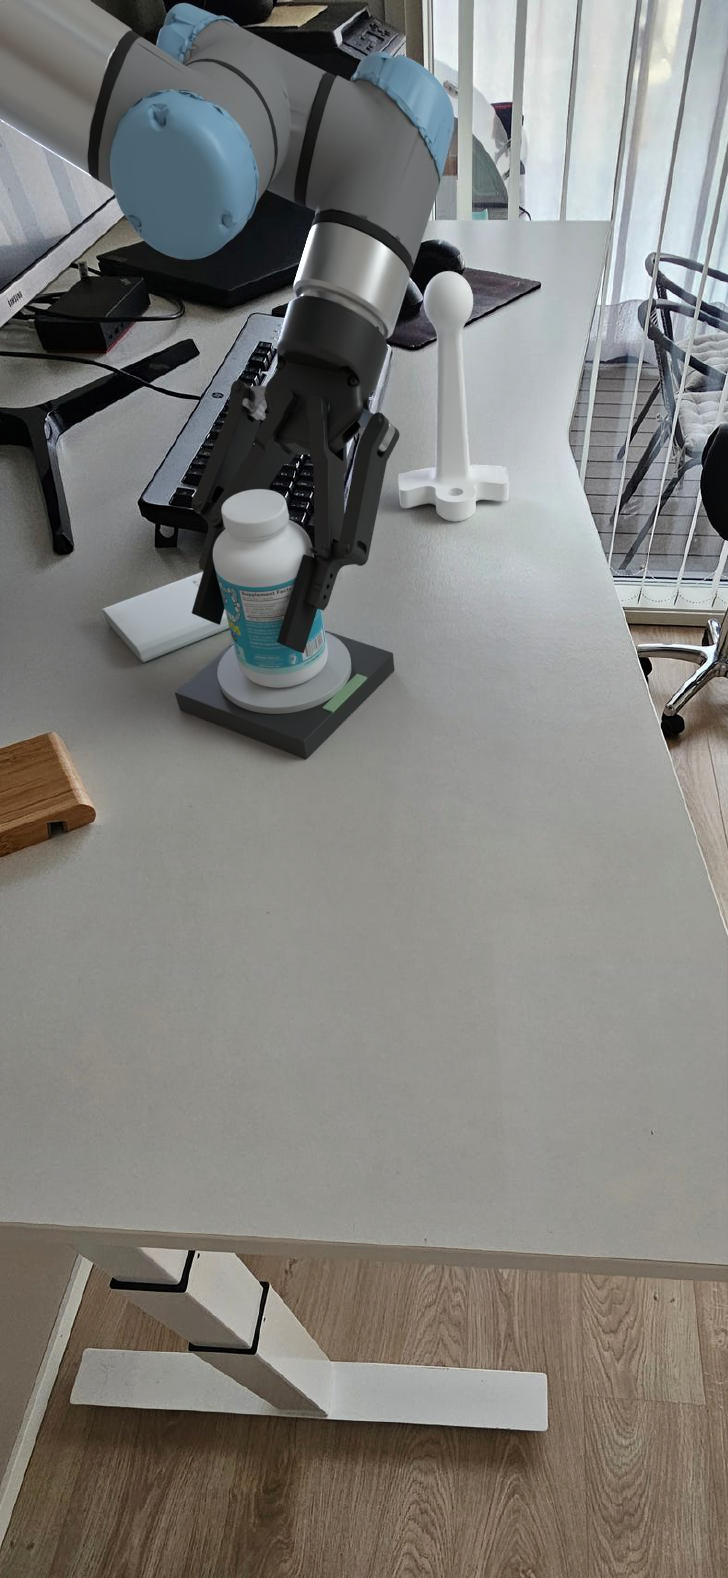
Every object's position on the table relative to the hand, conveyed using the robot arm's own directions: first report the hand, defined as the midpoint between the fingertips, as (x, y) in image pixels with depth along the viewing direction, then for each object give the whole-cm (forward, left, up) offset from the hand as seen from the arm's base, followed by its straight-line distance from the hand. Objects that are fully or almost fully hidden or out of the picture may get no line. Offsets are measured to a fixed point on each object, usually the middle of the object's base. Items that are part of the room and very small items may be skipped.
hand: (247, 633), depth 75 cm
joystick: (-3, +36, -8) cm, 37 cm away
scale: (0, +3, -8) cm, 8 cm away
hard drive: (-15, +8, -8) cm, 18 cm away
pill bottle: (0, +3, -5) cm, 6 cm away
